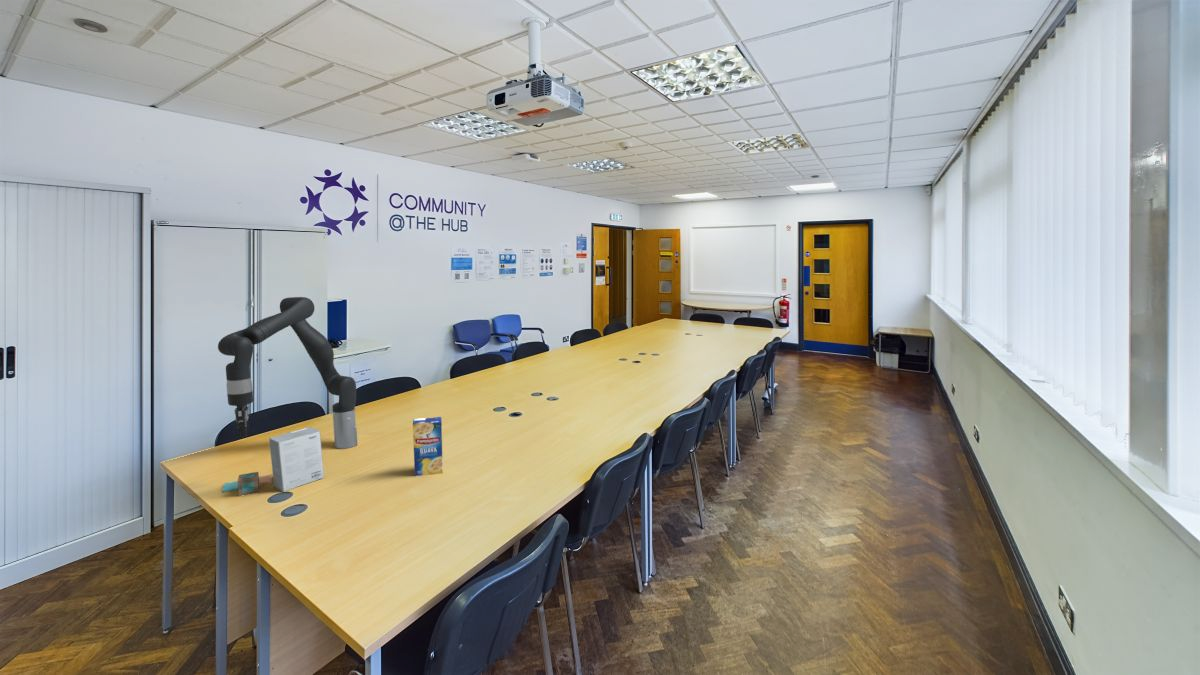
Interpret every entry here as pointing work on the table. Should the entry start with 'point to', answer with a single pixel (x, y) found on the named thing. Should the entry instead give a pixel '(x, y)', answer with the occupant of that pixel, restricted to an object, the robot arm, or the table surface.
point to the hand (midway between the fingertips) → (243, 433)
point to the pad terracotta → (265, 479)
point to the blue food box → (427, 446)
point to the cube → (248, 483)
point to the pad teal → (230, 486)
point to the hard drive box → (296, 458)
